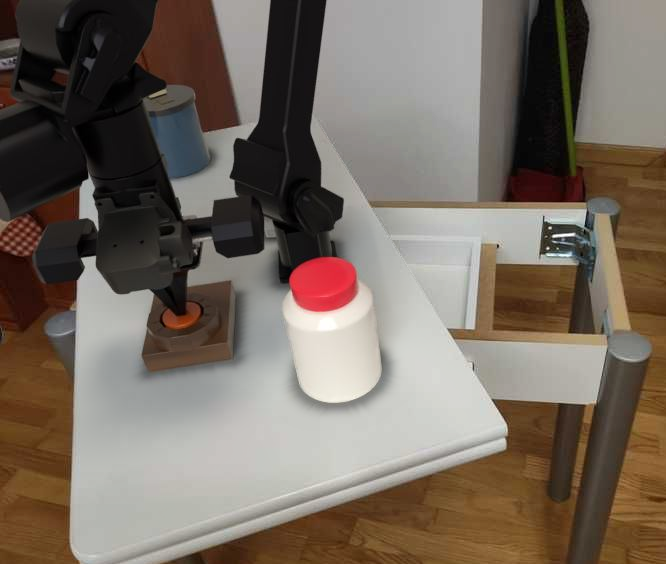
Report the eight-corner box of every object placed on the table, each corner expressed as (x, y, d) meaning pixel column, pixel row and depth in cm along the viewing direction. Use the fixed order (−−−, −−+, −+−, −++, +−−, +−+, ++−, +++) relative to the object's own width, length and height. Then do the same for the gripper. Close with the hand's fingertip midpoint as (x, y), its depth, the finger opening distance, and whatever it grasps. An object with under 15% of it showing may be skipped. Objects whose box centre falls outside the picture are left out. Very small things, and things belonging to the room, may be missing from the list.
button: (204, 336, 62) (199, 322, 61) (165, 342, 62) (160, 328, 61) (206, 312, 65) (201, 299, 64) (169, 318, 65) (164, 304, 63)
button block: (232, 361, 63) (222, 330, 60) (148, 374, 62) (134, 343, 60) (236, 296, 70) (227, 265, 68) (160, 307, 70) (148, 277, 67)
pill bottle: (372, 406, 57) (359, 308, 50) (287, 399, 58) (262, 303, 51) (388, 346, 63) (378, 250, 55) (310, 341, 64) (290, 247, 57)
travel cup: (223, 163, 94) (205, 95, 88) (164, 185, 91) (141, 116, 84) (196, 144, 100) (177, 79, 93) (140, 164, 96) (116, 98, 90)
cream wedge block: (167, 93, 90) (163, 82, 89) (150, 98, 89) (146, 87, 88) (158, 87, 91) (155, 76, 90) (142, 92, 90) (138, 81, 89)
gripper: (-31, 233, 45) (62, 389, 56) (240, 195, 46) (281, 355, 57) (15, 160, 54) (88, 307, 64) (244, 130, 55) (279, 279, 65)
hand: (181, 313), depth 62 cm, fingers closed, pressing on button
